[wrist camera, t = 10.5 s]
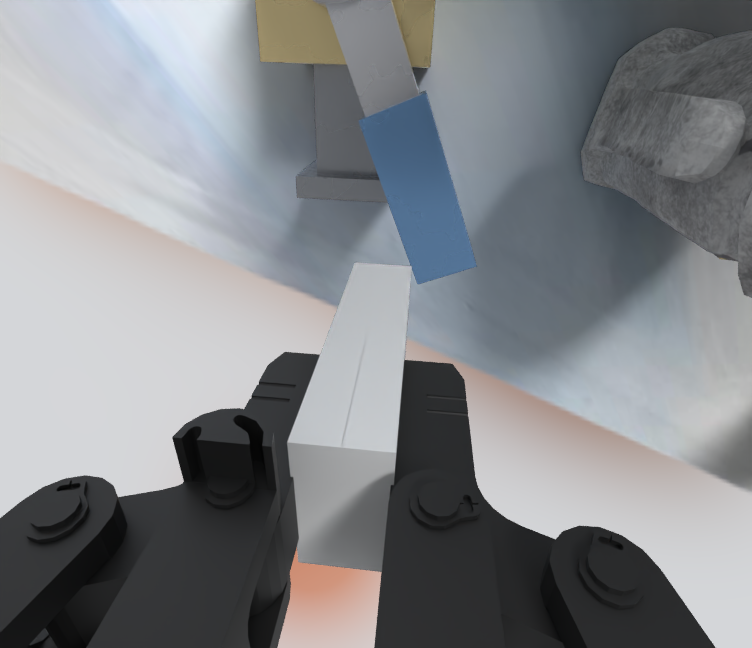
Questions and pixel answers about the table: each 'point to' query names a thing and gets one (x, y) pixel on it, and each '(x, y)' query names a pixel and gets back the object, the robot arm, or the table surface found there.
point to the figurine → (682, 138)
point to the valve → (336, 89)
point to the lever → (402, 138)
